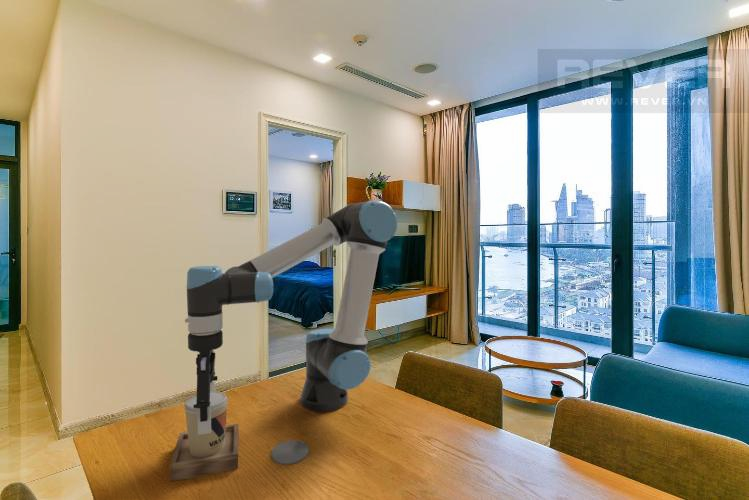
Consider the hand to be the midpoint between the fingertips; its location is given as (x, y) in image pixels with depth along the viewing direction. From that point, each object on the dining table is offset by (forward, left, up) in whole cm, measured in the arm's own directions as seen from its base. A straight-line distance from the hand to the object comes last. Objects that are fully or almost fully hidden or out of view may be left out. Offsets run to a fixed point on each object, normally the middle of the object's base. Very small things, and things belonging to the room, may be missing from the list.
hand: (207, 419), depth 89 cm
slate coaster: (-19, +5, -9) cm, 22 cm away
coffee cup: (0, 0, -7) cm, 7 cm away
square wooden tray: (0, 0, -9) cm, 9 cm away
